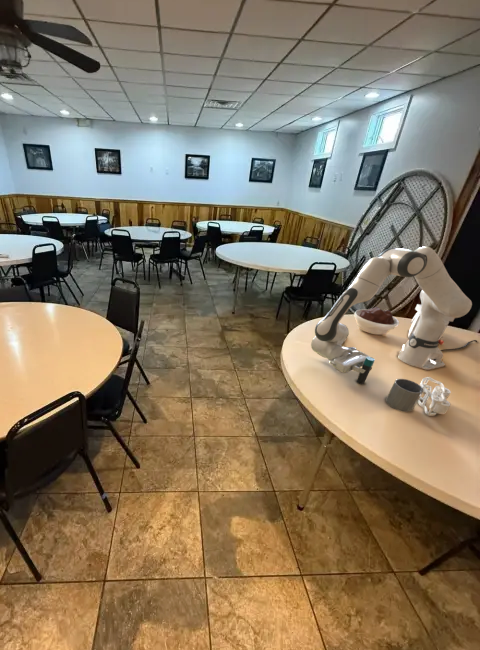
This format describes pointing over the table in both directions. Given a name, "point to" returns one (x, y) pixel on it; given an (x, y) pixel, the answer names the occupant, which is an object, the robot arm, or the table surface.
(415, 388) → the pen pot
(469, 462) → the table surface
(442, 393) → the white cage
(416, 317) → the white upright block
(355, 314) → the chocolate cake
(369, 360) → the marker pen
